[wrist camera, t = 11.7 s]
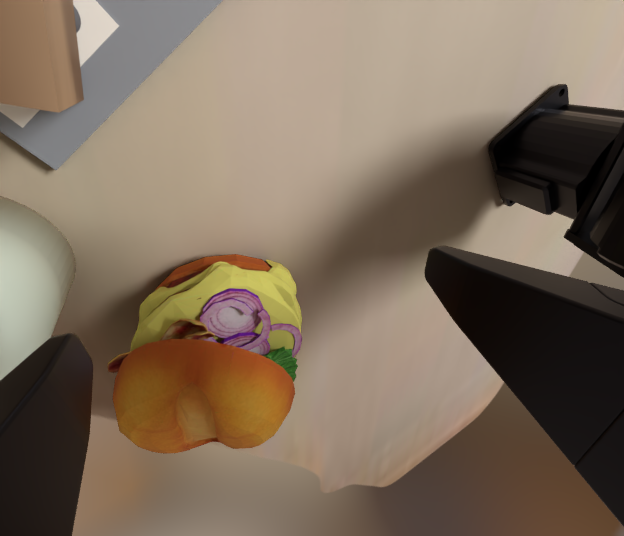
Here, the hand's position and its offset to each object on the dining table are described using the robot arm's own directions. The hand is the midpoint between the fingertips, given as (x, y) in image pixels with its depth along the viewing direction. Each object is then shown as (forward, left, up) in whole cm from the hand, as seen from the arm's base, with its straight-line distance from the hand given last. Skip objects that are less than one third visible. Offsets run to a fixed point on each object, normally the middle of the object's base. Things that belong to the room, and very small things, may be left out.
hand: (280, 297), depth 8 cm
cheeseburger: (+7, +7, -12) cm, 15 cm away
